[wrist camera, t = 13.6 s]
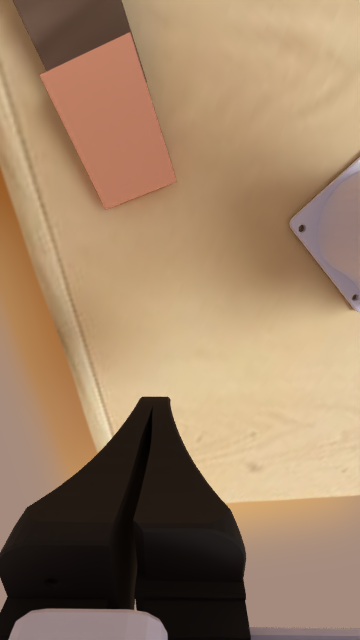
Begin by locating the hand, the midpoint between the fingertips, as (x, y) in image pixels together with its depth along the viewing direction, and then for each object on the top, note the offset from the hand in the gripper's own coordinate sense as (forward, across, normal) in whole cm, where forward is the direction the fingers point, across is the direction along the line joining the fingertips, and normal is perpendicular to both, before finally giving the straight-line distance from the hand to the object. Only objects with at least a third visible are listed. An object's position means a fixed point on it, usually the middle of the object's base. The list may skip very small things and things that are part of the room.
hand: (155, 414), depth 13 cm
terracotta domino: (+10, +2, -10) cm, 14 cm away
